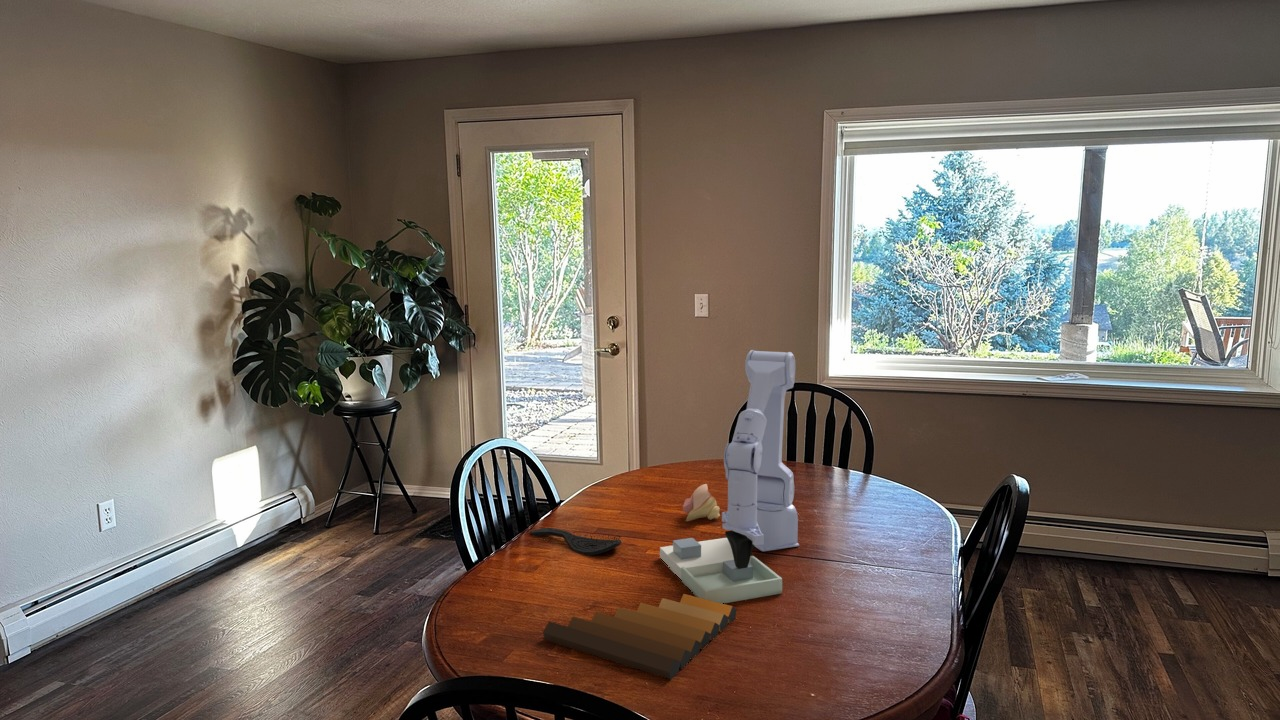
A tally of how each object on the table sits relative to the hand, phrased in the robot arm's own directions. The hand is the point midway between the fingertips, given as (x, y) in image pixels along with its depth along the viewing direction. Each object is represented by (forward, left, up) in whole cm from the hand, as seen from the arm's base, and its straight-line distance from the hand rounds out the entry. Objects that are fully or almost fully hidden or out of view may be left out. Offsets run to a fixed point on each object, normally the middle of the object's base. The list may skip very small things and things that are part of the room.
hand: (741, 567), depth 160 cm
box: (+3, +1, -3) cm, 5 cm away
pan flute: (+25, +11, -4) cm, 28 cm away
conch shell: (-7, -37, -3) cm, 37 cm away
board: (+3, -11, -3) cm, 12 cm away
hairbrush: (+26, -32, -4) cm, 42 cm away
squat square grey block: (0, -2, -3) cm, 3 cm away
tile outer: (+7, -12, -1) cm, 13 cm away
